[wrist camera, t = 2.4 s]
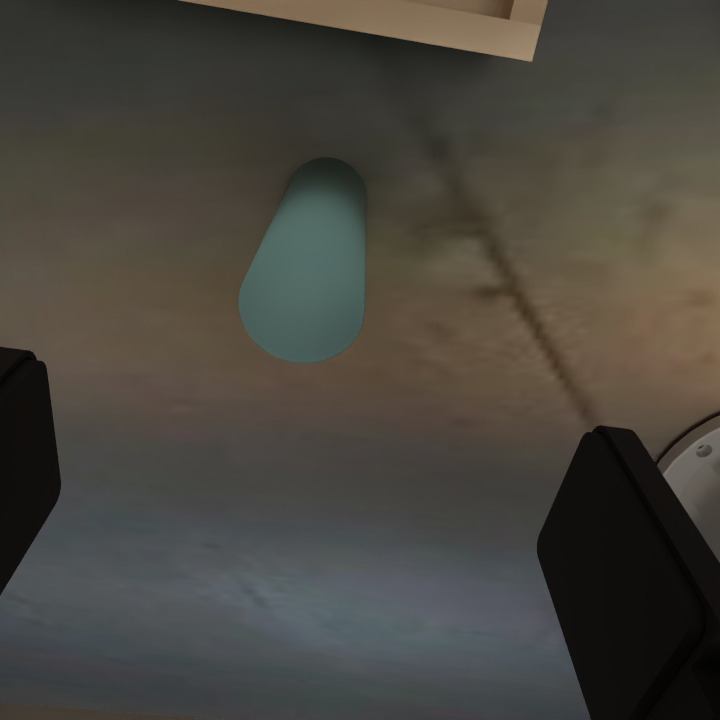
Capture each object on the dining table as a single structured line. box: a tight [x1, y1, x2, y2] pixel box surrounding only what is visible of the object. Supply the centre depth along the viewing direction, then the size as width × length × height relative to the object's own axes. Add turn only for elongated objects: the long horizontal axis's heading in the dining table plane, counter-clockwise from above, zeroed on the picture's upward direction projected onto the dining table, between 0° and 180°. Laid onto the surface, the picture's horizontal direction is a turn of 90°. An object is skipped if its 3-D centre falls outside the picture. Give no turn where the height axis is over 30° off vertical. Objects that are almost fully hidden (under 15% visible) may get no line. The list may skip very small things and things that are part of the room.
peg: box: [238, 158, 366, 363], centre depth 22 cm, size 4×4×12 cm
